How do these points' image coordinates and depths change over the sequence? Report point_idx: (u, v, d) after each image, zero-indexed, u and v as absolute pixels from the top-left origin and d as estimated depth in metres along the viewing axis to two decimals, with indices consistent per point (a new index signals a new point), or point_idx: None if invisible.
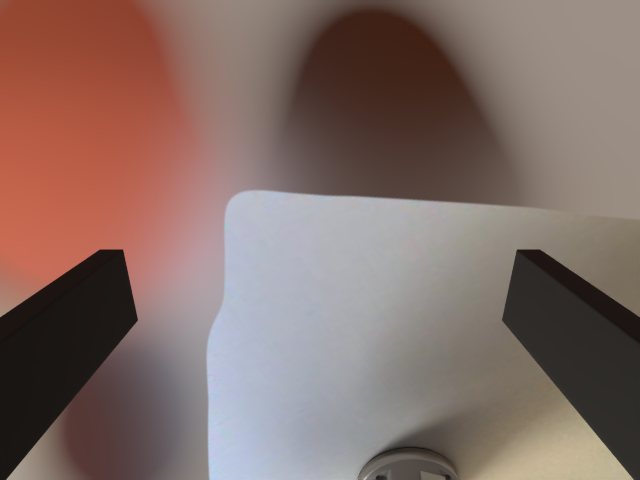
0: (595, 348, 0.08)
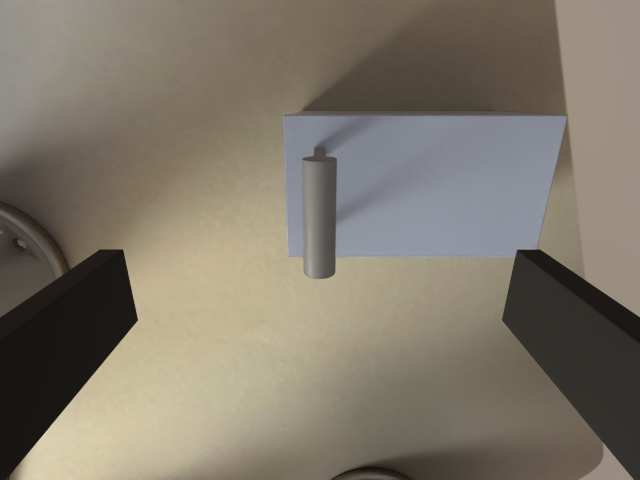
0: (595, 348, 0.08)
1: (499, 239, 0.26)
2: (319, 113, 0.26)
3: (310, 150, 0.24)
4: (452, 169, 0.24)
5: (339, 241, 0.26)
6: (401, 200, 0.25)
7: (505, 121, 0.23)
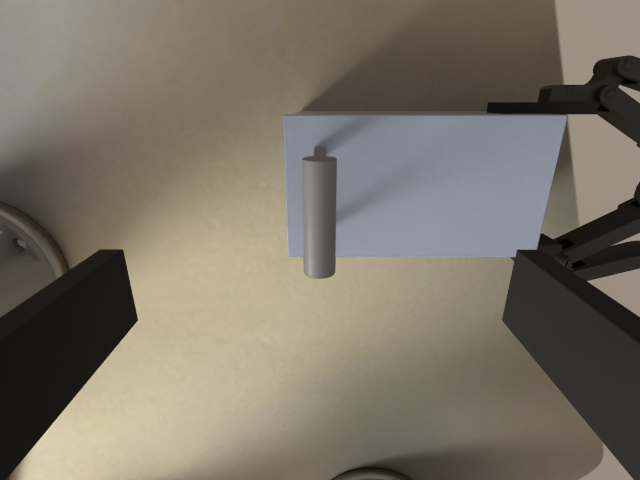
0: (595, 348, 0.08)
1: (499, 239, 0.26)
2: (319, 113, 0.26)
3: (310, 150, 0.24)
4: (452, 169, 0.24)
5: (339, 241, 0.26)
6: (401, 200, 0.25)
7: (505, 121, 0.23)
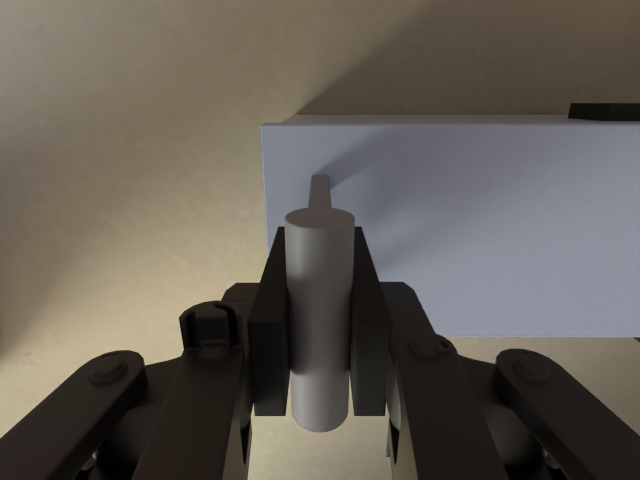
0: None
1: (595, 312, 0.17)
2: (319, 120, 0.17)
3: (305, 180, 0.15)
4: (531, 209, 0.15)
5: None
6: (447, 256, 0.16)
7: (624, 134, 0.14)
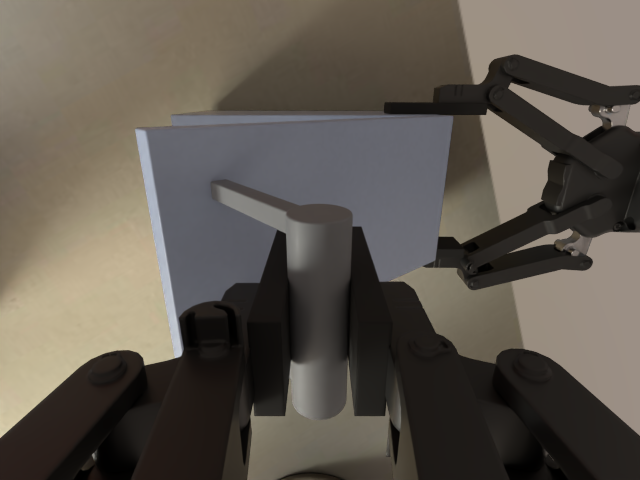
0: None
1: (412, 252, 0.24)
2: (205, 113, 0.25)
3: (203, 188, 0.14)
4: (375, 185, 0.20)
5: None
6: None
7: (414, 124, 0.21)
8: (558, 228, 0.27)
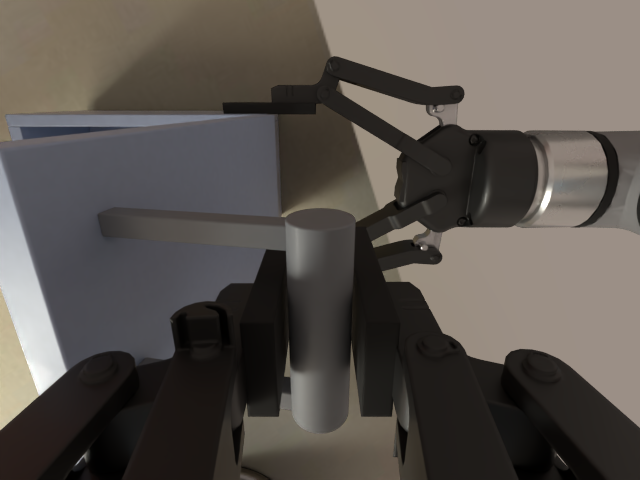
0: (354, 298, 0.11)
1: None
2: None
3: (90, 224, 0.10)
4: (237, 189, 0.19)
5: None
6: (212, 251, 0.17)
7: (253, 124, 0.21)
8: (400, 223, 0.28)
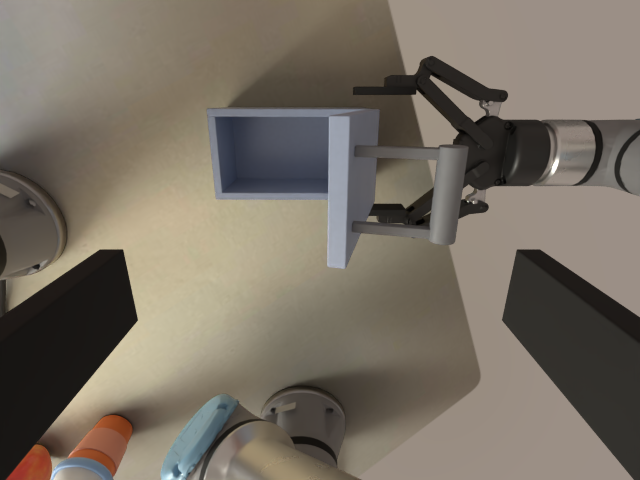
0: (595, 348, 0.08)
1: (372, 195, 0.38)
2: None
3: (353, 150, 0.24)
4: None
5: (355, 233, 0.28)
6: (364, 182, 0.31)
7: (375, 114, 0.34)
8: None
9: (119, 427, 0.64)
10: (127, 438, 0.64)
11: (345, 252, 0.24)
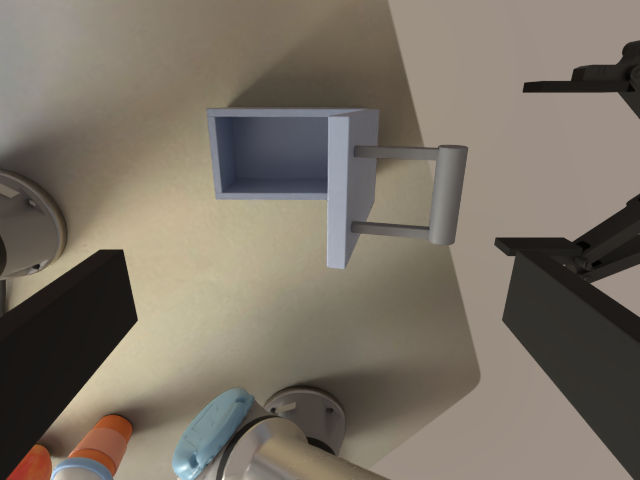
0: (595, 348, 0.08)
1: (372, 195, 0.38)
2: None
3: (353, 150, 0.24)
4: None
5: (354, 233, 0.28)
6: (364, 182, 0.31)
7: (375, 114, 0.34)
8: None
9: (119, 427, 0.64)
10: (127, 438, 0.64)
11: (344, 252, 0.24)
